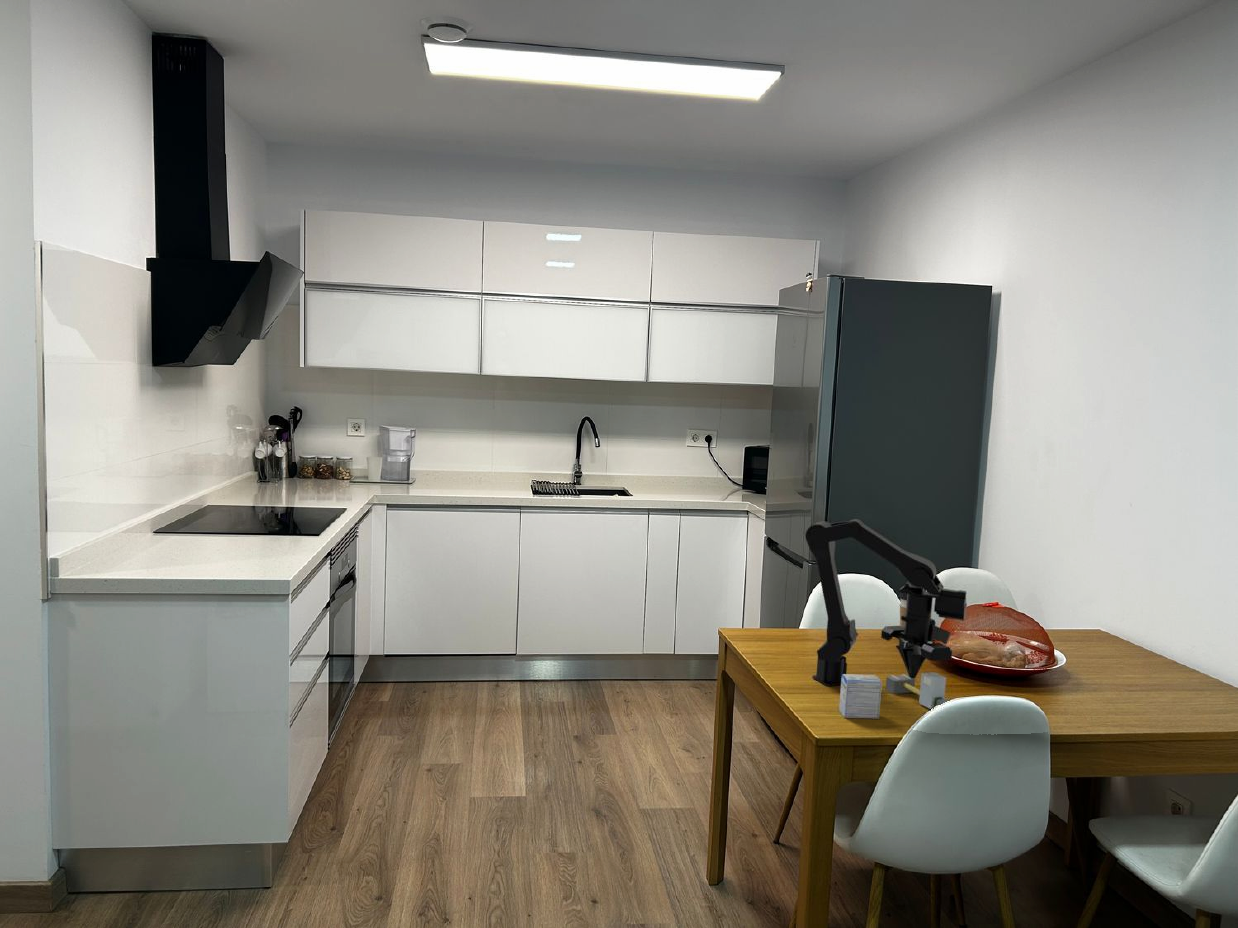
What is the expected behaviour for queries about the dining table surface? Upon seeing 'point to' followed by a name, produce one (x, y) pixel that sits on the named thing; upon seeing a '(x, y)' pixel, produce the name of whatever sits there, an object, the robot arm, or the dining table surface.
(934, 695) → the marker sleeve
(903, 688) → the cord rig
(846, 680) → the medicine box
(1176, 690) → the dining table surface
